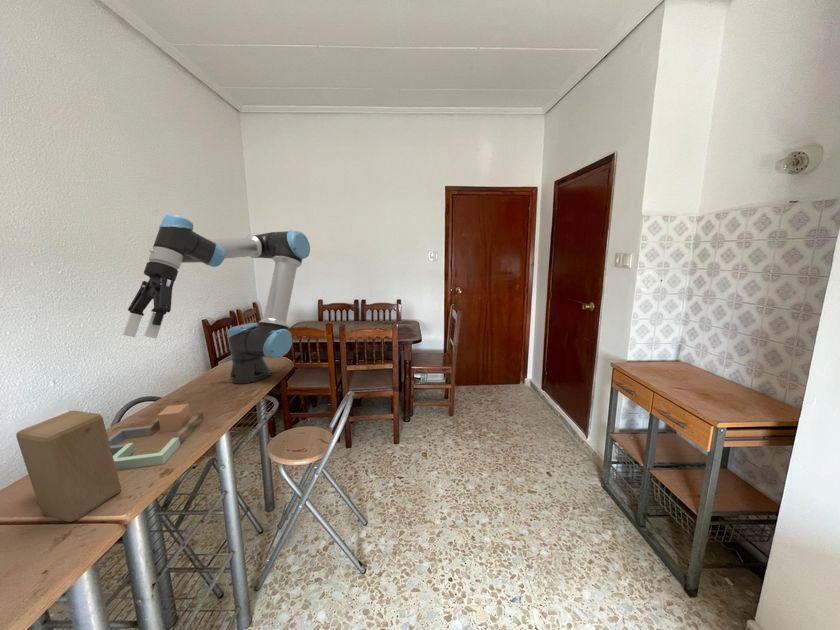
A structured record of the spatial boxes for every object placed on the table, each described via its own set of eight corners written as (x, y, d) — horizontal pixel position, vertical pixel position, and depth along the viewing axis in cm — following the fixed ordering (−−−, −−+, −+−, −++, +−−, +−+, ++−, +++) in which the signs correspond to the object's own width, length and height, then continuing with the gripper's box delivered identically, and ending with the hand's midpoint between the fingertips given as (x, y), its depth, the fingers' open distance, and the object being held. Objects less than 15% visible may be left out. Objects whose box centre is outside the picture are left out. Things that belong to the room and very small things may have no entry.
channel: (159, 424, 109) (158, 417, 108) (203, 418, 111) (202, 412, 111) (129, 451, 95) (127, 443, 94) (180, 445, 97) (178, 437, 96)
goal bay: (129, 451, 95) (127, 443, 94) (180, 445, 97) (178, 437, 96) (107, 471, 86) (105, 462, 86) (164, 463, 89) (162, 455, 88)
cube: (171, 423, 110) (168, 406, 108) (191, 420, 111) (188, 403, 109) (161, 433, 104) (157, 415, 103) (182, 430, 105) (179, 412, 104)
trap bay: (121, 436, 102) (120, 429, 102) (149, 433, 104) (147, 425, 103) (94, 458, 92) (92, 450, 91) (125, 454, 93) (123, 446, 93)
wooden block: (124, 490, 79) (103, 412, 75) (71, 525, 70) (44, 437, 65) (94, 484, 82) (72, 408, 78) (39, 516, 72) (11, 431, 68)
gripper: (130, 264, 102) (104, 332, 97) (170, 256, 89) (143, 334, 84) (158, 273, 108) (135, 338, 103) (199, 267, 96) (175, 340, 90)
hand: (139, 336), depth 94 cm, fingers open, 13 cm apart
